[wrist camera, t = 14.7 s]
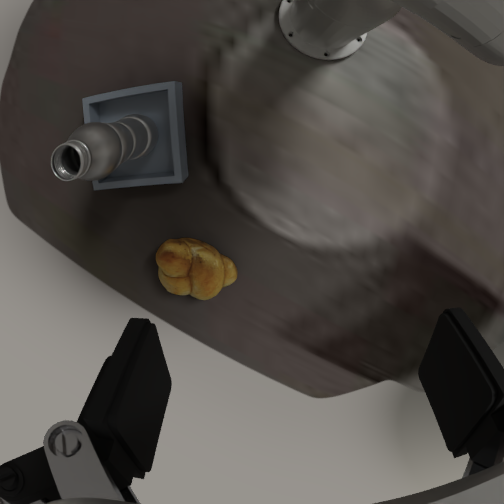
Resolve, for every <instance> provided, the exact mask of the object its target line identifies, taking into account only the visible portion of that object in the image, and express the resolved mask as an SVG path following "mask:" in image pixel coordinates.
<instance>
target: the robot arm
mask: <svg viewBox="0 0 504 504" xmlns="http://www.w3.org/2000/svg"><path fill="white" fill-rule="evenodd" d="M287 1H290V3H288V2H287ZM402 7H403V8H405V9H407V10H408V11H410V12H412V13H413V14H416V15H418V16H420V17H421V18H423V19H424V20H426V21H427V22H429V23H430V24H432V25H433V26H435V27H436V28H438V29H439V30H441V31H442V32H443V33H445V34H446V35H448V36H449V37H450V38H452V39H453V40H454V41H456V42H457V43H458V44H460V45H461V46H463V47H464V48H465V49H467V50H468V51H469V52H471V53H472V54H473V55H475V56H476V57H478V58H479V59H481V60H483V61H485V62H487V63H489V64H492V65H497V66H504V0H283V1H282V2H281V5H280V9H279V14H278V15H279V24H280V28H281V31H282V33H283V35H284V37H285V38H286V39H287V40H288V42H289V43H290V44H291V45H292V46H293V47H294V48H295V49H297V50H298V51H300V52H301V53H303V54H305V55H307V56H310V57H312V58H316V59H320V60H337V59H341V58H345V57H347V56H349V55H351V54H353V53H354V52H356V51H357V50H358V49H359V48H360V47H361V46H362V45H363V43H364V42H365V39H366V37H367V34H368V32H369V31H370V30H372V29H374V28H376V27H378V26H379V25H381V24H383V23H385V22H386V21H388V20H390V19H391V18H393V17H394V16H395V15H396V14H397V13H398V12H399V11H400V9H401V8H402ZM289 34H292V37H290V36H289ZM356 39H358V40H359V42H358V41H357V40H356ZM324 53H326V54H327V56H324ZM418 375H419V379H420V381H421V383H422V386H423V388H424V390H425V392H426V395H427V397H428V400H429V402H430V405H431V407H432V409H433V412H434V414H435V417H436V419H437V422H438V425H439V427H440V430H441V432H442V435H443V438H444V440H445V443H446V446H447V448H448V450H449V451H451V452H452V453H453V456H454V458H456V457H459V456H462V455H465V454H467V453H468V454H469V456H470V458H469V461H468V464H467V467H466V470H465V472H464V475H463V477H462V479H459V480H457V481H454V482H451V483H448V484H445V485H442V486H439V487H436V488H433V489H430V490H426V491H423V492H419V493H416V494H412V495H408V496H405V497H401V498H396V499H392V500H388V501H383V502H379V503H374V504H504V369H503V367H502V365H501V364H500V363H499V361H498V359H497V358H496V356H495V355H494V353H493V352H492V350H491V349H490V347H489V346H488V344H487V343H486V341H485V340H484V338H483V337H482V336H481V334H480V333H479V331H478V330H477V328H476V327H475V326H474V324H473V323H472V322H471V320H470V319H469V317H468V316H467V315H466V313H465V312H464V311H463V310H462V309H461V308H450V309H445V310H444V312H443V314H441V315H440V316H439V319H438V321H437V324H436V327H435V330H434V332H433V335H432V338H431V340H430V343H429V345H428V348H427V350H426V353H425V355H424V358H423V360H422V362H421V365H420V367H419V371H418ZM170 391H171V377H170V374H169V371H168V367H167V364H166V361H165V357H164V354H163V350H162V347H161V344H160V340H159V336H158V333H157V329H156V326H155V324H153V323H150V321H149V319H143V318H131V319H130V320H129V322H128V324H127V326H126V328H125V330H124V332H123V334H122V336H121V338H120V340H119V342H118V344H117V346H116V348H115V350H114V352H113V354H112V356H109V357H108V358H107V359H106V360H105V362H104V364H103V366H102V368H101V370H100V372H99V374H98V377H97V379H96V381H95V383H94V385H93V387H92V389H91V391H90V394H89V396H88V398H87V400H86V402H85V405H84V407H83V409H82V411H81V414H80V416H79V418H78V421H77V422H74V421H61V422H58V423H56V424H54V425H53V426H52V427H51V428H50V429H49V430H48V431H47V433H46V435H45V437H44V442H43V443H44V446H43V447H41V448H38V449H36V450H34V451H32V452H29V453H27V454H25V455H22V456H20V457H18V458H16V459H13V460H11V461H8V462H6V463H4V464H2V465H1V466H0V504H140V502H139V501H138V499H137V497H136V496H135V494H134V493H133V491H132V489H131V487H130V485H131V483H132V479H133V477H135V478H141V479H144V476H145V472H150V470H151V468H152V464H153V459H154V455H155V451H156V447H157V443H158V439H159V434H160V430H161V426H162V422H163V418H164V414H165V410H166V406H167V403H168V399H169V395H170Z"/></svg>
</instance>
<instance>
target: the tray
mask: <svg viewBox="0 0 504 504" xmlns="http://www.w3.org/2000/svg"><path fill="white" fill-rule="evenodd" d="M83 112H84V122H85V124H86V123H91V122H103V123H111V122H116V121H118V120H120V119H121V118H123V117H125V116H127V115H130V114H141V115H144V116H147V117H149V118H150V119H151V120H153V122H154V123H155V124H156V126H157V129H158V140H157V143H156V145H155V147H154V148H153V149H152V150H151V152H150V153H149V154H147V155H146V156H144V157H142V158H138V159H133V160H127V161H125V162H123V163H122V164H120V165H119V166H118V167H117V168H116V169H115V170H114V171H113V172H112V173H111V174H109V175H108V176H107V177H105V178H103V179H100V180H96V181H92V182H93V188H94V190H103V189H112V188H123V187H133V186H145V185H158V184H172V183H183V182H184V180H185V179H186V178H187V177H188V164H187V152H186V140H185V126H184V110H183V93H182V83H181V82H177V81H172V82H164V83H157V84H151V85H145V86H139V87H133V88H128V89H123V90H118V91H113V92H108V93H104V94H99V95H95V96H91V97H87V98H83Z"/></svg>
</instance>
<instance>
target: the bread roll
mask: <svg viewBox="0 0 504 504" xmlns="http://www.w3.org/2000/svg"><path fill="white" fill-rule="evenodd" d="M156 262H157V264H158V266H159V270H158V275H159V279H160V281H161V283H162V285H163V286H164V287H165V288H166V290H167V291H168V292H171V293H173V294H177V295H188V294H190V295H191V296H193V297H195V298H197V299H200V300H208V299H211V298H213V297H214V296H215V295H217V294H218V293H219V292H220V290H221V288H222V287H226V286H228V285H230V284H232V283H233V282H234V281H235V280H236V278H237V269H236V266H235V264H234V262H233V261H232V260H231V259H230V258H228V257H227V256H224V255H222V254H219V252H218V250H217V249H215V248H214V247H213V246H211V245H209V244H207V243H205V242H203V241H200V240H197V239H192V238H179V239H168V240H167V241H165V242H164V243H163V244H162V245H161V246H160V247H159V249H158V251H157V253H156Z"/></svg>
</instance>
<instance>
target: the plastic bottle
mask: <svg viewBox="0 0 504 504" xmlns="http://www.w3.org/2000/svg"><path fill="white" fill-rule="evenodd" d="M157 140H158V129H157V126H156V124H155V123H154V122H153V120H151V119H150V118H149V117H147V116H144V115H141V114H130V115H127V116H125V117H123V118H121V119H120V120H118V121H116V122H111V123H103V122H91V123H86V124H84V125H82V126H80V127H79V128H77V129H76V130H75V131H74V132H73V133H72V134H71V135H70V137H69V138H68V140H67V142H65V143H63V144H61V145H59V146H58V147H57V148H56V149H55V150H54V152H53V154H52V157H51V167H52V170H53V172H54V174H55V175H56V177H58V178H59V179H60V180H63V181H72V180H74V179H77V178H79V179H82V180H86V181H96V180H100V179H103V178H105V177H107V176H108V175H109V174H111V173H112V172H113V171H114V170H115V169H116V168H117V167H118V166H119V165H120V164H122V163H123V162H125V161H127V160H133V159H138V158H142V157H144V156H146V155H147V154H149V153H150V152H151V150H152V149H153V148H154V147H155V145H156V143H157Z"/></svg>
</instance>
